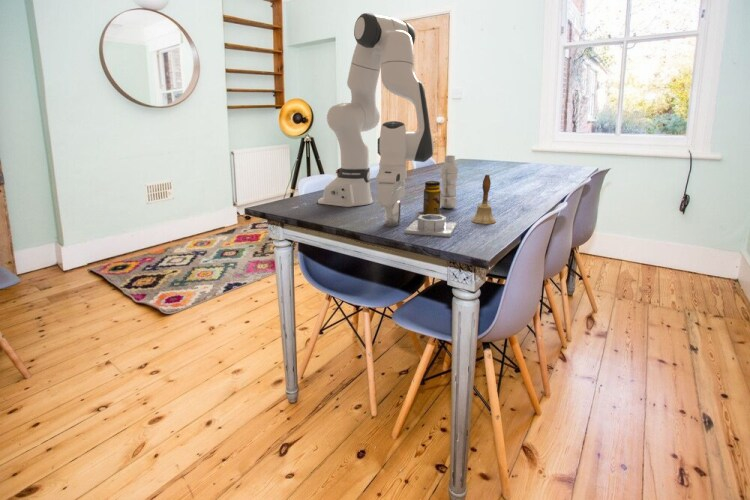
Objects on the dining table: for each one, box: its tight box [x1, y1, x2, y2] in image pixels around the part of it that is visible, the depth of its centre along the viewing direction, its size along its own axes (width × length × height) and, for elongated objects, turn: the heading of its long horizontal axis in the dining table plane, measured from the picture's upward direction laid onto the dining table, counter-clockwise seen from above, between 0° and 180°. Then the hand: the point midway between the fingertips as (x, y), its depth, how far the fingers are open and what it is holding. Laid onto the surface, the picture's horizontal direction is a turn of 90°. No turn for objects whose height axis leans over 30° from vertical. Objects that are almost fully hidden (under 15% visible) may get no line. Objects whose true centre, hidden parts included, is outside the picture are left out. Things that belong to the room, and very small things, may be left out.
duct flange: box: [404, 214, 458, 238], centre depth 146 cm, size 14×14×4 cm
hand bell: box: [470, 174, 497, 225], centre depth 155 cm, size 8×8×16 cm
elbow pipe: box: [384, 199, 401, 227], centre depth 153 cm, size 5×5×8 cm
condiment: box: [414, 180, 444, 217], centre depth 166 cm, size 7×8×12 cm
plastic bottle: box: [440, 154, 459, 210], centre depth 174 cm, size 6×7×20 cm
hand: (392, 214), depth 153 cm, fingers open, 6 cm apart
